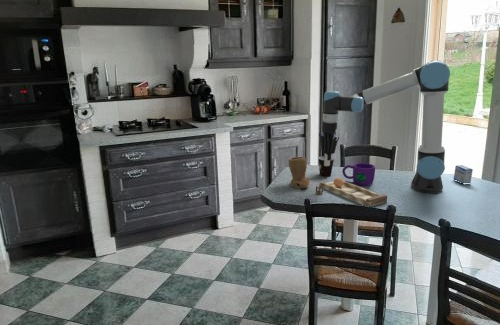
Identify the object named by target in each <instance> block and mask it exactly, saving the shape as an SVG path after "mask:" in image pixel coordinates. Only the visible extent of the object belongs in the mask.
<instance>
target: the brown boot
mask: <svg viewBox="0 0 500 325" xmlns="http://www.w3.org/2000/svg"><path fill="white" fill-rule="evenodd" d="M288 167H289V170H290V174H291V177H292V179H291V181H290V183H289V185H290V186H291V187H293V188H295V189H299V190H300V189H306V188H308V187H309V185H310V182H311V179H310V177H309V178H308V177H306V172H307V168H308V166H307V159H306V157H304V156H294V157H290V158H288Z"/></svg>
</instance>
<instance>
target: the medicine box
mask: <svg viewBox="0 0 500 325" xmlns="http://www.w3.org/2000/svg"><path fill="white" fill-rule="evenodd" d="M454 167H455V169H454V174H453V179H454V180H457V181H459V182H461V183H470V184H471V182H472V176H473V171H474V170H473V169H472V168H470V167H468V166H465V165H461V164H459V165H457V164H456V165H455V166H454ZM454 180H453V181H454ZM461 183H460V184H461Z"/></svg>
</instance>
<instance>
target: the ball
mask: <svg viewBox="0 0 500 325" xmlns="http://www.w3.org/2000/svg"><path fill="white" fill-rule="evenodd" d="M335 178H336V179H335ZM335 178H334V180H333V181H334V185H335V186H336V187H341V186H342V185H343V183H344V182H343V181H344V180H343V178H342V177H335Z"/></svg>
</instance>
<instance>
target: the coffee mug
mask: <svg viewBox="0 0 500 325" xmlns="http://www.w3.org/2000/svg"><path fill="white" fill-rule="evenodd" d="M334 159H335V158H334V157H332V156H331V160H330V166H324V155H323V156H318V167H319V169H318V170H319V176H320V177H324V178H329V177H331V176H332V172H333V171H332V170H333V166H334V161H335V160H334Z"/></svg>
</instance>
